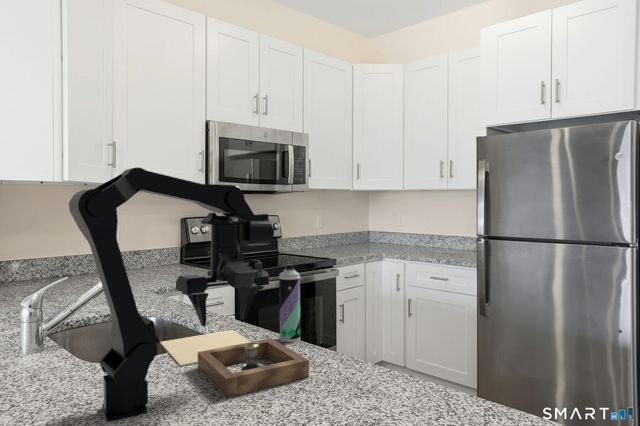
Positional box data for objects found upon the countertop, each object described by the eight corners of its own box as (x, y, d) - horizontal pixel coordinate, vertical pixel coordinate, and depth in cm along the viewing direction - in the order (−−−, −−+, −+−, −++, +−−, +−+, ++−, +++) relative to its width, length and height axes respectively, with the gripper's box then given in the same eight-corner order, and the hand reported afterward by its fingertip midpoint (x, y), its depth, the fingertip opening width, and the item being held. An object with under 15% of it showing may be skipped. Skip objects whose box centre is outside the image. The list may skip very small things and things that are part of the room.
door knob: (246, 377, 93) (245, 349, 93) (238, 371, 97) (238, 343, 97) (265, 373, 95) (265, 345, 95) (257, 366, 99) (256, 340, 99)
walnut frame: (226, 397, 84) (226, 378, 83) (197, 367, 99) (197, 352, 99) (309, 376, 93) (308, 360, 93) (271, 352, 108) (271, 338, 108)
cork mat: (180, 366, 100) (180, 365, 100) (160, 343, 117) (160, 341, 117) (262, 350, 110) (262, 348, 110) (232, 330, 127) (232, 329, 127)
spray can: (275, 339, 119) (274, 264, 119) (291, 334, 123) (290, 262, 123) (289, 343, 115) (288, 266, 115) (304, 339, 119) (304, 264, 119)
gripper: (201, 251, 79) (200, 339, 79) (285, 247, 92) (284, 323, 92) (175, 247, 88) (174, 326, 88) (255, 244, 100) (254, 313, 100)
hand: (224, 322), depth 92 cm, fingers open, 9 cm apart
